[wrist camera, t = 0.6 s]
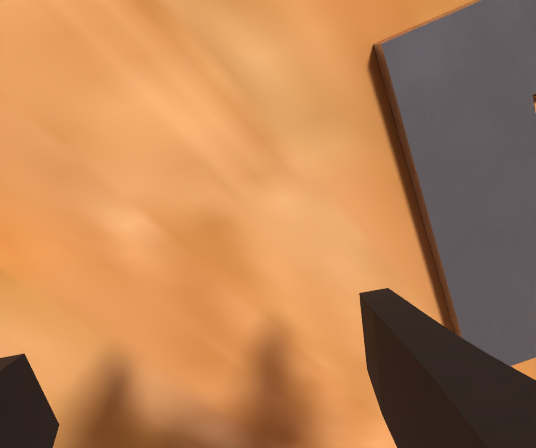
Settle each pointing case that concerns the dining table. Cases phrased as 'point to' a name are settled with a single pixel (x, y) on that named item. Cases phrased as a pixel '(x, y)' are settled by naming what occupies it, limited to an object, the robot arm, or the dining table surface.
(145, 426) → the dining table surface
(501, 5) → the carrier plate
